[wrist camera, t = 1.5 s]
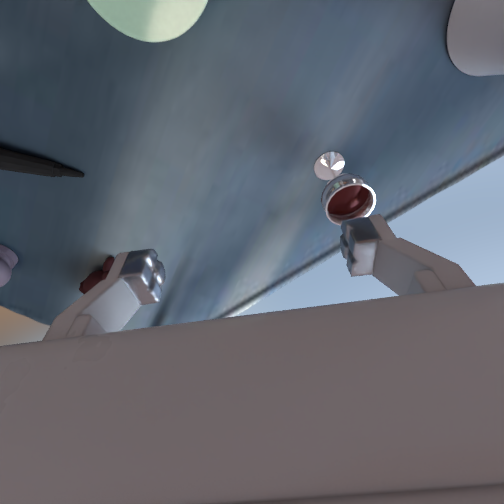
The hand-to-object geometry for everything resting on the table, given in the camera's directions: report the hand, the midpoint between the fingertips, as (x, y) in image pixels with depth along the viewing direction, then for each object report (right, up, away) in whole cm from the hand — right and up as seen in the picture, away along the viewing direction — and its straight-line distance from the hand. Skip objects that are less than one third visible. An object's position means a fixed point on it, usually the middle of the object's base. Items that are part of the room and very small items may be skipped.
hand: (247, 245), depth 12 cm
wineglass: (+13, +14, +35) cm, 40 cm away
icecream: (-32, -6, +50) cm, 60 cm away
